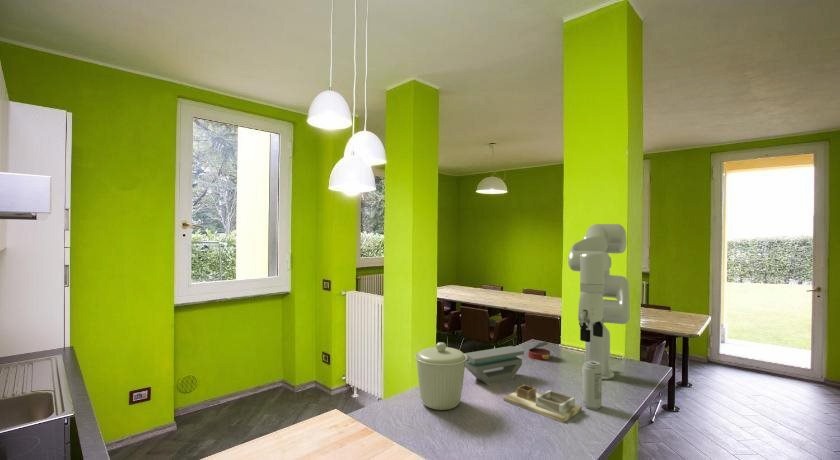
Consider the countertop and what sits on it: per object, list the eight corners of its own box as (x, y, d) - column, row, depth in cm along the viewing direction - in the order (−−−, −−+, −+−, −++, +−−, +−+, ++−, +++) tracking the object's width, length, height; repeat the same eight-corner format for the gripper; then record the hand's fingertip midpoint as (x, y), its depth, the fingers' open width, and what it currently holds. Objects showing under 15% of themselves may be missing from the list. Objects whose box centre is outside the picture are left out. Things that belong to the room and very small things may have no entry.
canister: (439, 389, 149) (439, 333, 150) (477, 404, 136) (478, 342, 137) (403, 403, 137) (404, 342, 137) (442, 421, 124) (442, 353, 124)
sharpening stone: (474, 387, 151) (474, 359, 151) (462, 381, 158) (462, 353, 158) (524, 377, 163) (524, 350, 163) (511, 371, 170) (511, 345, 170)
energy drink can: (587, 401, 140) (588, 358, 140) (604, 407, 135) (605, 363, 135) (578, 405, 136) (579, 361, 136) (595, 412, 131) (596, 366, 131)
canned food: (534, 369, 186) (524, 350, 186) (531, 360, 196) (522, 342, 196) (556, 360, 184) (546, 341, 184) (553, 351, 194) (543, 333, 194)
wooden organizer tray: (524, 390, 149) (524, 379, 149) (581, 410, 132) (581, 397, 132) (503, 400, 140) (503, 388, 140) (562, 422, 124) (562, 409, 124)
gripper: (592, 285, 144) (591, 332, 144) (569, 289, 133) (569, 341, 133) (613, 287, 139) (613, 336, 139) (591, 292, 127) (591, 345, 127)
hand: (591, 338), depth 136 cm, fingers open, 9 cm apart
